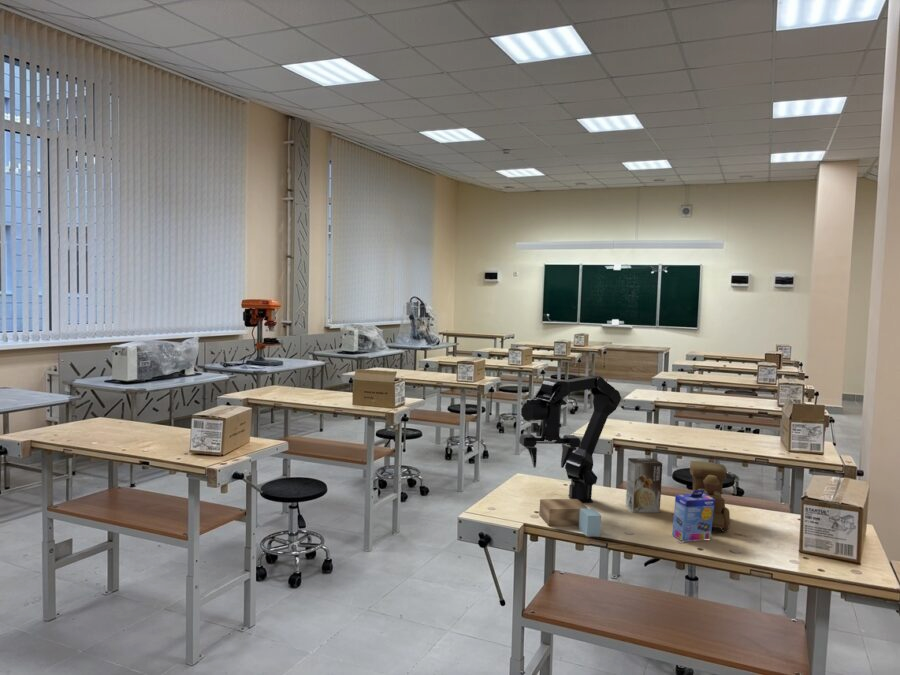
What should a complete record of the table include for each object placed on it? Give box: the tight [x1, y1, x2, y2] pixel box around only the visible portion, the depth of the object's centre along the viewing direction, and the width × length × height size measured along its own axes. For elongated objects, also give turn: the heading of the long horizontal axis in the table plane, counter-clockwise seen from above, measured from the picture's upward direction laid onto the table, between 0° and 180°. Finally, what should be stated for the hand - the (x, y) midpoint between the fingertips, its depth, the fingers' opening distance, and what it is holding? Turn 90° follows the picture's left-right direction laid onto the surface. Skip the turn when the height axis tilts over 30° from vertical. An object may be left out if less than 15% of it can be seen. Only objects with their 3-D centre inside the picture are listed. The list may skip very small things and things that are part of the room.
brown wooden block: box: [538, 498, 588, 527], centre depth 186 cm, size 12×9×5 cm
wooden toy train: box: [689, 460, 731, 532], centre depth 190 cm, size 20×11×17 cm, turn 163°
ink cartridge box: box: [671, 490, 715, 542], centre depth 177 cm, size 10×6×14 cm, turn 108°
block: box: [578, 507, 602, 537], centre depth 177 cm, size 4×6×6 cm
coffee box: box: [625, 457, 664, 513], centre depth 200 cm, size 9×6×16 cm
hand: (548, 467), depth 198 cm, fingers open, 9 cm apart
